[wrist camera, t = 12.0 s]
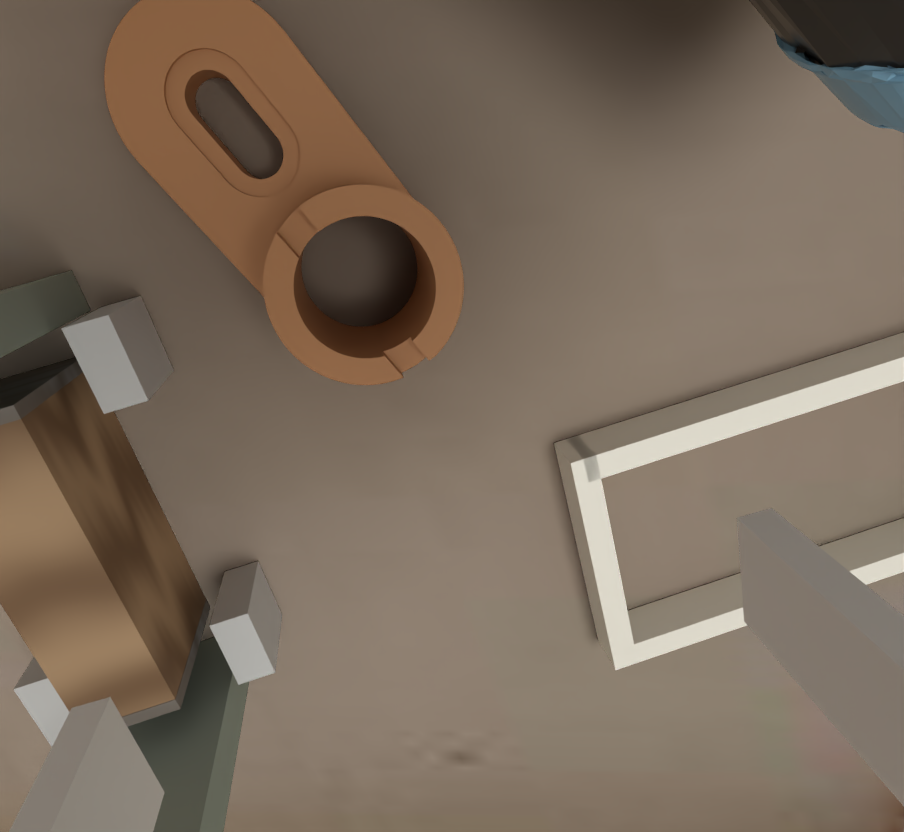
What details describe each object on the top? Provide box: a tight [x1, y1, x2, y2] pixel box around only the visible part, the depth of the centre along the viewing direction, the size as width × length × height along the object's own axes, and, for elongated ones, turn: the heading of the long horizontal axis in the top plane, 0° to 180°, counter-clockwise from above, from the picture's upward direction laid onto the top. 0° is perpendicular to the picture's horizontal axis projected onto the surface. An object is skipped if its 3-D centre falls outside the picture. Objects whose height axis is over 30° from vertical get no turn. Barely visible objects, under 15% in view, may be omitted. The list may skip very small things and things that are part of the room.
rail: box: [0, 358, 210, 727], centre depth 32 cm, size 16×4×8 cm, turn 15°
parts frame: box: [554, 332, 904, 670], centre depth 41 cm, size 15×25×3 cm, turn 105°
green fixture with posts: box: [0, 270, 282, 832], centre depth 29 cm, size 24×12×14 cm, turn 15°
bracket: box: [104, 0, 464, 385], centre depth 29 cm, size 18×8×7 cm, turn 38°
